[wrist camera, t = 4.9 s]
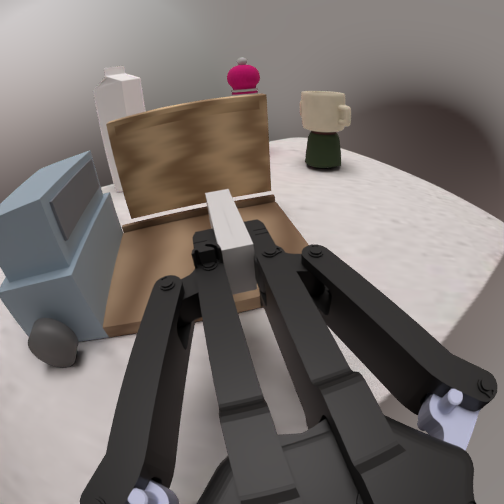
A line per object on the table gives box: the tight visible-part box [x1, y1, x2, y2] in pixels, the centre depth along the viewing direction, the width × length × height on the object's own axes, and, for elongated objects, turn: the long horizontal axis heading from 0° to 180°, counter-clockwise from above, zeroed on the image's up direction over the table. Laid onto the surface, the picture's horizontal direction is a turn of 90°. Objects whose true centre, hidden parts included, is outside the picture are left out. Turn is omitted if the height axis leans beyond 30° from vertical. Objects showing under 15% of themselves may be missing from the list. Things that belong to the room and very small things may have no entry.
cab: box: [0, 151, 123, 367], centre depth 20 cm, size 8×19×12 cm, turn 14°
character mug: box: [300, 91, 351, 168], centre depth 41 cm, size 11×7×13 cm, turn 34°
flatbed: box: [103, 195, 309, 337], centre depth 26 cm, size 18×15×2 cm
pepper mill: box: [227, 57, 260, 96], centre depth 47 cm, size 7×7×20 cm
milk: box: [93, 66, 146, 192], centre depth 39 cm, size 6×6×22 cm
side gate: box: [106, 94, 271, 219], centre depth 27 cm, size 16×2×11 cm, turn 104°
